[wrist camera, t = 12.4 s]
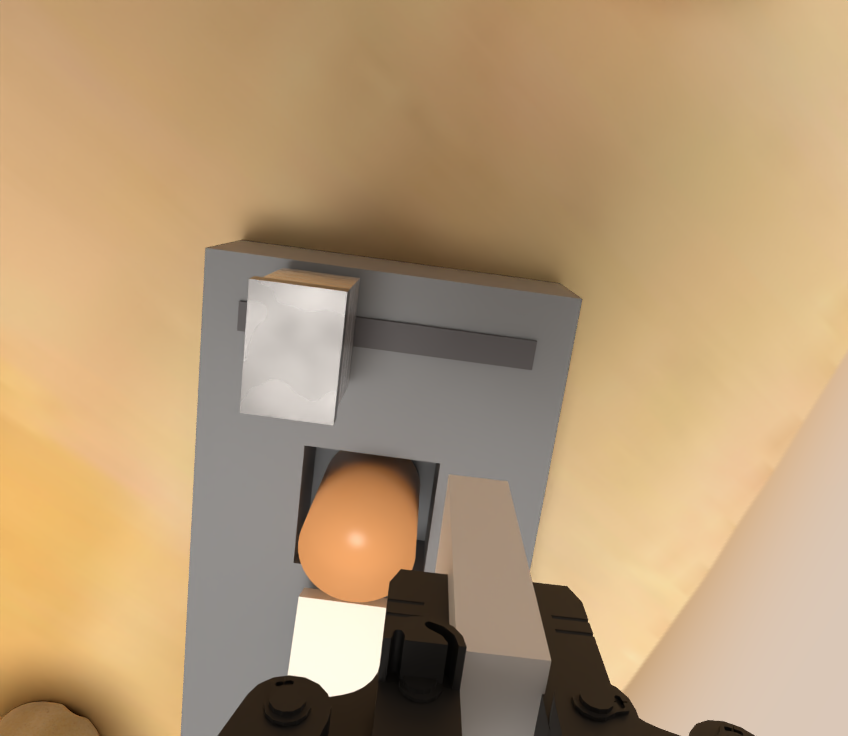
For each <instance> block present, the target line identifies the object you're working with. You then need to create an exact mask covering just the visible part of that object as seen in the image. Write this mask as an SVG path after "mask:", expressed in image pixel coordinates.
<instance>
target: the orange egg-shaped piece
mask: <svg viewBox="0 0 848 736" xmlns="http://www.w3.org/2000/svg"><path fill="white" fill-rule="evenodd" d="M419 496H420V480H419V475H418V472H417V469H416V467H415V466H414V464H413V462H412V461H411V460H410V459H403V458H395V457H388V456H380V455H373V454H365V453H358V452H350V451H343V450H341V451H339V452H338V453H337V454H336V455H335V456H334V457H333V458H332V460H331V461H330V463H329V465H328V467H327V469H326V471H325V474H324V476H323V479H322V481H321V483H320V486H319V488H318V491H317V493H316V495H315V498H314V500H313V503H312V505H311V507H310V510H309V512H308V515H307V517H306V519H305V522H304V524H303V527H302V529H301V532H300V535H299V541H298V553H299V559H300V562H301V565H302V567H303V570H304V571H305V573H306V575H307V576H308V578H309V579H310V580H311V581H312V582H313V583H314V584H315V585H316V586H317V587H318V588H319V589H320V590H322V591H323V592H325V593H326V594H328V595H330V596H332V597H335V598H337V599H340V600H344V601H349V602H369V601H374V600H378V599H381V598H383V597H386V596H388V590H389V582H390V581H391V580H392V579H393V577H394V576H395V575H396V574H397V573H398V572H399V571H400V569H405V570H412V568H413V566H414V562H415V556H416V541H417V526H418V511H419Z"/></svg>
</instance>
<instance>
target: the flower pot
mask: <svg viewBox="0 0 848 736" xmlns="http://www.w3.org/2000/svg"><path fill="white" fill-rule="evenodd" d="M0 736H99V734H98V732H97V730H96V728H95V727H94V726H93V724H92V723H91V722H90V721H89V720H88V719H87V718H85V717H80V716H78V715H75V714H74V713H72V712H71V711H69V710H68V709H67V708H66V707H65V706H64V705H63V704H59V703H54V702H31V703H27V704H24V705H21V706H19V707H17V708H15V709H13V710H12V711H10V712H9V713H8V714H6V715H5V716H4V717H3V718H2V719H1V720H0Z"/></svg>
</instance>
